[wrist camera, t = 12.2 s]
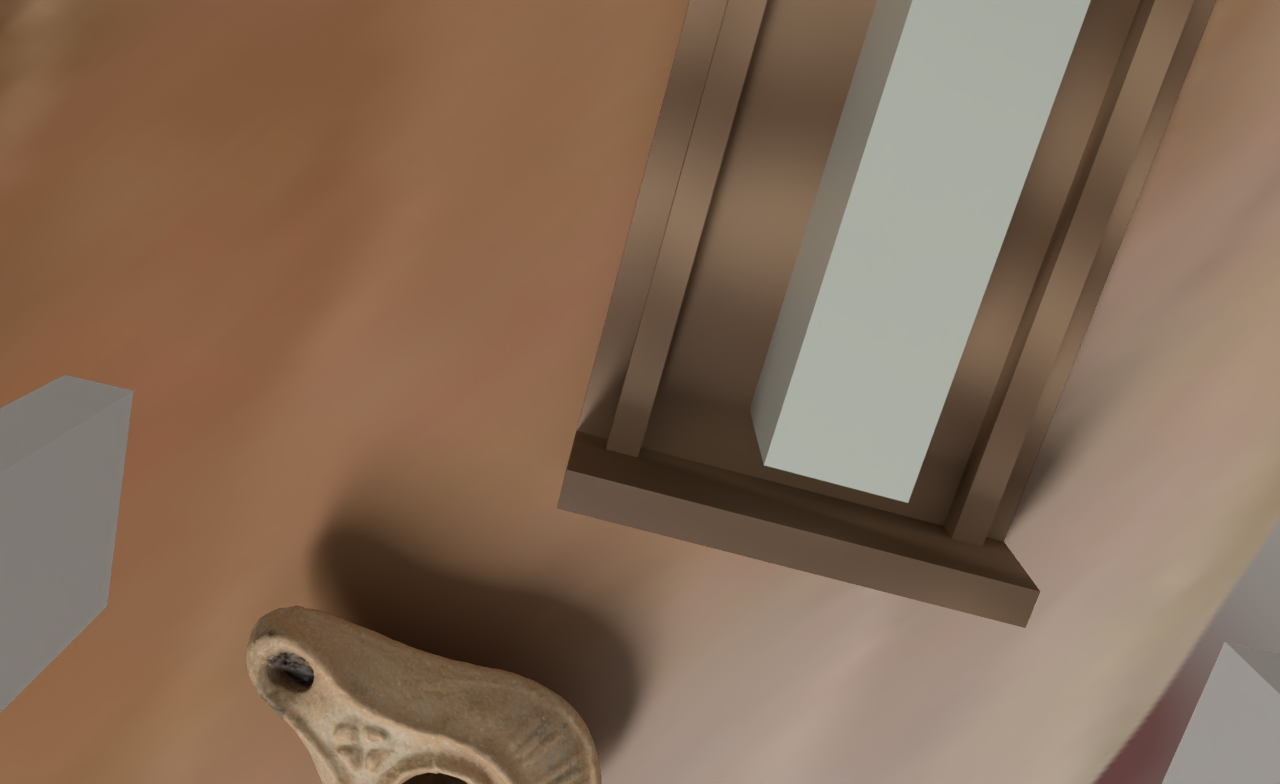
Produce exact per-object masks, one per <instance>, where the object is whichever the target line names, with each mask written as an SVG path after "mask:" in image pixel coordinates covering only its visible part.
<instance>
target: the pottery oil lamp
mask: <svg viewBox="0 0 1280 784" xmlns="http://www.w3.org/2000/svg"><path fill="white" fill-rule="evenodd" d="M246 663H247V668H248V674H249V676H250V678H251V681H252V684H253V686H254V688H255V689H256V691H257V692H258V693H259V694H260V695H261V697H262V698H263V699H264V700H265V701H266V702H267V703H268V704H269V705H270V707H271V708H272V709H273V710H274V711H275V712H276V713H277V714H278V715H279V716H280V717H281V718H282V719H284V720H285V721H286V722H287V723H288V724H289V725H290V726H291V727H292V728H293V729H294V731H295V732H296V733H297V735H298V736H299V738H300V739H301V740H302V742H303V743H304V745H305V746H306V747H307V749H308V751H309V753H310V755H311V757H312V759H313V761H314V763H315V767H316V769H317V771H318V774H319V776H320V778H321V780H322V783H323V784H601V771H600V763H599V757H598V753H597V750H596V747H595V744H594V741H593V738H592V737H591V734H590V732H589V729H588V727H587V726H586V724H585V722H584V720H583V719H582V717H581V716H580V715H579V714H578V712H577V711H576V710H575V709H574V708H573V707H572V706H571V705H570V704H569V703H568V702H567V701H566V700H564V699H563V698H562V697H561V696H560V695H558V694H557V693H555V692H553V691H551V690H550V689H548V688H546V687H545V686H543V685H541V684H539V683H538V682H536V681H534V680H531V679H529V678H526V677H523V676H521V675H518V674H516V673H513V672H509V671H505V670H501V669H497V668H490V667H483V666H479V665H474V664H470V663H467V662H462V661H456V660H452V659H448V658H445V657H441V656H439V655H435V654H432V653H428V652H425V651H421V650H419V649H416V648H413V647H410V646H408V645H406V644H404V643H401V642H399V641H395V640H392V639H391V638H389V637H386V636H384V635H382V634H380V633H377V632H375V631H373V630H370V629H367V628H365V627H362V626H359V625H356V624H353V623H351V622H349V621H346V620H344V619H342V618H339V617H337V616H334V615H332V614H329V613H326V612H322V611H319V610H315V609H305V608H303V607H301V606H294V607H289V608H280V609H277V610H274V611H272V612H270V613H268V614H266V615H264V616H263V617H261V618H260V619H259V620H258V622H257V623H256V624H255V625H254V627H253V629H252V632H251V635H250V638H249V642H248V645H247V651H246Z"/></svg>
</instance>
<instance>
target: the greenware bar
mask: <svg viewBox="0 0 1280 784" xmlns="http://www.w3.org/2000/svg"><path fill="white" fill-rule="evenodd" d="M1090 1H1091V0H877V1H876V5H875V8H874V11H873V14H872V18H871V21H870V24H869V27H868V30H867V34H866V37H865V40H864V43H863V46H862V50H861V53H860V56H859V59H858V63H857V66H856V69H855V72H854V75H853V79H852V82H851V85H850V88H849V92H848V95H847V98H846V101H845V104H844V108H843V111H842V114H841V117H840V120H839V124H838V127H837V130H836V133H835V137H834V140H833V143H832V146H831V149H830V153H829V156H828V159H827V162H826V166H825V169H824V172H823V175H822V178H821V182H820V185H819V188H818V191H817V194H816V198H815V201H814V204H813V207H812V211H811V214H810V217H809V220H808V223H807V227H806V230H805V233H804V236H803V239H802V243H801V246H800V249H799V252H798V256H797V259H796V262H795V265H794V268H793V272H792V275H791V278H790V281H789V285H788V288H787V291H786V294H785V297H784V301H783V304H782V307H781V310H780V313H779V317H778V320H777V323H776V326H775V330H774V333H773V336H772V339H771V342H770V346H769V349H768V352H767V355H766V359H765V362H764V365H763V368H762V371H761V375H760V378H759V381H758V384H757V387H756V391H755V394H754V397H753V400H752V404H751V407H750V413H751V417H752V421H753V425H754V429H755V433H756V437H757V441H758V445H759V448H760V452H761V456H762V460H763V464H764V465H765V466H769V467H773V468H776V469H780V470H784V471H788V472H792V473H795V474H799V475H803V476H807V477H811V478H815V479H818V480H822V481H826V482H830V483H834V484H837V485H841V486H845V487H849V488H853V489H857V490H860V491H864V492H868V493H872V494H876V495H879V496H883V497H887V498H891V499H895V500H899V501H902V502H906V503H908V502H909V499H910V496H911V494H912V491H913V488H914V485H915V483H916V480H917V477H918V474H919V472H920V469H921V466H922V463H923V461H924V458H925V455H926V452H927V450H928V447H929V444H930V441H931V439H932V436H933V433H934V430H935V428H936V425H937V422H938V419H939V417H940V414H941V411H942V408H943V406H944V403H945V400H946V397H947V395H948V392H949V389H950V386H951V384H952V381H953V378H954V375H955V373H956V370H957V367H958V364H959V362H960V359H961V356H962V353H963V351H964V348H965V345H966V342H967V340H968V337H969V334H970V331H971V329H972V326H973V323H974V320H975V318H976V315H977V312H978V309H979V307H980V304H981V301H982V298H983V296H984V293H985V290H986V287H987V285H988V282H989V279H990V276H991V274H992V271H993V268H994V265H995V263H996V260H997V257H998V254H999V252H1000V249H1001V246H1002V243H1003V241H1004V238H1005V235H1006V232H1007V230H1008V227H1009V224H1010V221H1011V219H1012V216H1013V213H1014V210H1015V208H1016V205H1017V202H1018V199H1019V197H1020V194H1021V191H1022V188H1023V186H1024V183H1025V180H1026V177H1027V175H1028V172H1029V169H1030V166H1031V164H1032V161H1033V158H1034V155H1035V153H1036V150H1037V147H1038V144H1039V142H1040V139H1041V136H1042V133H1043V131H1044V128H1045V125H1046V122H1047V120H1048V117H1049V114H1050V111H1051V109H1052V106H1053V103H1054V100H1055V98H1056V95H1057V92H1058V89H1059V87H1060V84H1061V81H1062V78H1063V76H1064V73H1065V70H1066V67H1067V65H1068V62H1069V59H1070V56H1071V54H1072V51H1073V48H1074V45H1075V43H1076V40H1077V37H1078V34H1079V32H1080V29H1081V26H1082V23H1083V21H1084V18H1085V15H1086V12H1087V10H1088V7H1089V4H1090Z"/></svg>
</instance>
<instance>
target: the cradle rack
mask: <svg viewBox="0 0 1280 784" xmlns="http://www.w3.org/2000/svg"><path fill="white" fill-rule="evenodd" d="M876 1H877V0H690V2H689V6H688V10H687V13H686V17H685V21H684V25H683V29H682V32H681V36H680V40H679V44H678V48H677V51H676V55H675V59H674V63H673V67H672V70H671V74H670V78H669V82H668V86H667V89H666V93H665V97H664V101H663V105H662V108H661V112H660V116H659V120H658V124H657V127H656V131H655V135H654V139H653V143H652V146H651V150H650V154H649V158H648V162H647V165H646V169H645V173H644V177H643V181H642V184H641V188H640V192H639V196H638V200H637V203H636V207H635V211H634V215H633V219H632V222H631V226H630V230H629V234H628V238H627V241H626V245H625V249H624V253H623V257H622V260H621V264H620V268H619V272H618V275H617V279H616V283H615V287H614V291H613V294H612V298H611V302H610V306H609V310H608V313H607V317H606V321H605V325H604V329H603V332H602V336H601V340H600V344H599V348H598V351H597V355H596V359H595V363H594V367H593V370H592V374H591V378H590V382H589V386H588V389H587V393H586V397H585V401H584V405H583V408H582V412H581V416H580V420H579V424H578V427H577V431H576V435H575V439H574V443H573V446H572V450H571V454H570V458H569V462H568V465H567V469H566V473H565V477H564V481H563V485H562V490H561V494H560V498H559V502H558V506H557V508H558V509H562V510H566V511H570V512H574V513H578V514H582V515H586V516H590V517H594V518H598V519H602V520H605V521H609V522H613V523H617V524H621V525H625V526H629V527H633V528H637V529H641V530H645V531H648V532H652V533H656V534H660V535H664V536H668V537H672V538H676V539H680V540H684V541H688V542H692V543H695V544H699V545H703V546H707V547H711V548H715V549H719V550H723V551H727V552H731V553H735V554H739V555H742V556H746V557H750V558H754V559H758V560H762V561H766V562H770V563H774V564H778V565H782V566H785V567H789V568H793V569H797V570H801V571H805V572H809V573H813V574H817V575H821V576H825V577H829V578H832V579H836V580H840V581H844V582H848V583H852V584H856V585H860V586H864V587H868V588H872V589H875V590H879V591H883V592H887V593H891V594H895V595H899V596H903V597H907V598H911V599H915V600H919V601H922V602H926V603H930V604H934V605H938V606H942V607H946V608H950V609H954V610H958V611H962V612H966V613H969V614H973V615H977V616H981V617H985V618H989V619H993V620H997V621H1001V622H1005V623H1009V624H1012V625H1016V626H1020V627H1024V628H1025V627H1026V625H1027V623H1028V620H1029V618H1030V615H1031V613H1032V610H1033V608H1034V605H1035V603H1036V601H1037V598H1038V596H1039V593H1040V591H1039V589H1038V588H1037V586H1036V585H1035V584H1034V582H1033V581H1032V580H1031V578H1030V577H1029V576H1028V574H1027V573H1026V571H1025V570H1024V569H1023V567H1022V566H1021V565H1020V563H1019V562H1018V561H1017V559H1016V558H1015V556H1014V555H1013V554H1012V552H1011V551H1010V550H1009V548H1008V547H1007V545H1006V544H1005V543H1004V539H1005V537H1006V534H1007V532H1008V529H1009V526H1010V524H1011V521H1012V519H1013V516H1014V514H1015V511H1016V509H1017V506H1018V504H1019V501H1020V498H1021V496H1022V493H1023V491H1024V488H1025V486H1026V483H1027V481H1028V478H1029V475H1030V473H1031V470H1032V468H1033V465H1034V463H1035V460H1036V458H1037V455H1038V453H1039V450H1040V447H1041V445H1042V442H1043V440H1044V437H1045V435H1046V432H1047V430H1048V427H1049V425H1050V422H1051V419H1052V417H1053V414H1054V412H1055V409H1056V407H1057V404H1058V402H1059V399H1060V397H1061V394H1062V391H1063V389H1064V386H1065V384H1066V381H1067V379H1068V376H1069V374H1070V371H1071V369H1072V366H1073V363H1074V361H1075V358H1076V356H1077V353H1078V351H1079V348H1080V346H1081V343H1082V341H1083V338H1084V335H1085V333H1086V330H1087V328H1088V325H1089V323H1090V320H1091V318H1092V315H1093V313H1094V310H1095V307H1096V305H1097V302H1098V300H1099V297H1100V295H1101V292H1102V290H1103V287H1104V285H1105V282H1106V279H1107V277H1108V274H1109V272H1110V269H1111V267H1112V264H1113V262H1114V259H1115V256H1116V254H1117V251H1118V249H1119V246H1120V244H1121V241H1122V239H1123V236H1124V234H1125V231H1126V228H1127V226H1128V223H1129V221H1130V218H1131V216H1132V213H1133V211H1134V208H1135V206H1136V203H1137V200H1138V198H1139V195H1140V193H1141V190H1142V188H1143V185H1144V183H1145V180H1146V178H1147V175H1148V172H1149V170H1150V167H1151V165H1152V162H1153V160H1154V157H1155V155H1156V152H1157V150H1158V147H1159V144H1160V142H1161V139H1162V137H1163V134H1164V132H1165V129H1166V127H1167V124H1168V122H1169V119H1170V116H1171V114H1172V111H1173V109H1174V106H1175V104H1176V101H1177V99H1178V96H1179V94H1180V91H1181V88H1182V86H1183V83H1184V81H1185V78H1186V76H1187V73H1188V71H1189V68H1190V66H1191V63H1192V60H1193V58H1194V55H1195V53H1196V50H1197V48H1198V45H1199V43H1200V40H1201V37H1202V35H1203V32H1204V30H1205V27H1206V25H1207V22H1208V20H1209V17H1210V15H1211V12H1212V9H1213V7H1214V4H1215V2H1216V0H1091V1H1090V4H1089V7H1088V10H1087V12H1086V15H1085V18H1084V21H1083V23H1082V26H1081V29H1080V32H1079V34H1078V37H1077V40H1076V43H1075V45H1074V48H1073V51H1072V54H1071V56H1070V59H1069V62H1068V65H1067V67H1066V70H1065V73H1064V76H1063V78H1062V81H1061V84H1060V87H1059V89H1058V92H1057V95H1056V98H1055V100H1054V103H1053V106H1052V109H1051V111H1050V114H1049V117H1048V120H1047V122H1046V125H1045V128H1044V131H1043V133H1042V136H1041V139H1040V142H1039V144H1038V147H1037V150H1036V153H1035V155H1034V158H1033V161H1032V164H1031V166H1030V169H1029V172H1028V175H1027V177H1026V180H1025V183H1024V186H1023V188H1022V191H1021V194H1020V197H1019V199H1018V202H1017V205H1016V208H1015V210H1014V213H1013V216H1012V219H1011V221H1010V224H1009V227H1008V230H1007V232H1006V235H1005V238H1004V241H1003V243H1002V246H1001V249H1000V252H999V254H998V257H997V260H996V263H995V265H994V268H993V271H992V274H991V276H990V279H989V282H988V285H987V287H986V290H985V293H984V296H983V298H982V301H981V304H980V307H979V309H978V312H977V315H976V318H975V320H974V323H973V326H972V329H971V331H970V334H969V337H968V340H967V342H966V345H965V348H964V351H963V353H962V356H961V359H960V362H959V364H958V367H957V370H956V373H955V375H954V378H953V381H952V384H951V386H950V389H949V392H948V395H947V397H946V400H945V403H944V406H943V408H942V411H941V414H940V417H939V419H938V422H937V425H936V428H935V430H934V433H933V436H932V439H931V441H930V444H929V447H928V450H927V452H926V455H925V458H924V461H923V463H922V466H921V469H920V472H919V474H918V477H917V480H916V483H915V485H914V488H913V491H912V494H911V496H910V499H909V502H908V503H906V502H902V501H899V500H895V499H891V498H887V497H883V496H879V495H876V494H872V493H868V492H864V491H860V490H857V489H853V488H849V487H845V486H841V485H837V484H834V483H830V482H826V481H822V480H818V479H815V478H811V477H807V476H803V475H799V474H795V473H792V472H788V471H784V470H780V469H776V468H773V467H769V466H765V465H764V464H763V460H762V456H761V452H760V448H759V445H758V441H757V437H756V433H755V429H754V425H753V421H752V417H751V413H750V407H751V404H752V400H753V397H754V394H755V391H756V387H757V384H758V381H759V378H760V375H761V371H762V368H763V365H764V362H765V359H766V355H767V352H768V349H769V346H770V342H771V339H772V336H773V333H774V330H775V326H776V323H777V320H778V317H779V313H780V310H781V307H782V304H783V301H784V297H785V294H786V291H787V288H788V285H789V281H790V278H791V275H792V272H793V268H794V265H795V262H796V259H797V256H798V252H799V249H800V246H801V243H802V239H803V236H804V233H805V230H806V227H807V223H808V220H809V217H810V214H811V211H812V207H813V204H814V201H815V198H816V194H817V191H818V188H819V185H820V182H821V178H822V175H823V172H824V169H825V166H826V162H827V159H828V156H829V153H830V149H831V146H832V143H833V140H834V137H835V133H836V130H837V127H838V124H839V120H840V117H841V114H842V111H843V108H844V104H845V101H846V98H847V95H848V92H849V88H850V85H851V82H852V79H853V75H854V72H855V69H856V66H857V63H858V59H859V56H860V53H861V50H862V46H863V43H864V40H865V37H866V34H867V30H868V27H869V24H870V21H871V18H872V14H873V11H874V8H875V5H876Z"/></svg>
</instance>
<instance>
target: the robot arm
mask: <svg viewBox="0 0 1280 784" xmlns="http://www.w3.org/2000/svg"><path fill="white" fill-rule="evenodd" d="M132 397H133V391H132V390H128V389H124V388H119V387H115V386H110V385H106V384H102V383H97V382H93V381H89V380H84V379H80V378H76V377H71V376H67V375H64V376H62V377H60V378H58V379H56V380H54V381H52V382H50V383H48V384H46V385H44V386H42V387H40V388H38V389H37V390H35V391H33V392H31V393H29V394H27V395H25V396H23V397H21V398H19V399H17V400H15V401H13V402H12V403H10V404H8V405H6V406H4V407H2V408H0V713H1V712H2V711H3V710H4V709H5V708H6V707H7V706H8V705H9V704H10V703H11V702H12V701H13V700H14V699H15V698H16V697H17V696H18V695H19V694H20V693H21V692H22V691H23V690H24V689H25V688H26V687H27V686H28V685H29V684H30V683H31V682H32V681H33V680H34V679H35V678H36V677H37V676H38V675H39V674H40V673H41V672H42V671H43V670H44V669H45V668H46V667H47V666H48V665H49V664H50V663H51V662H52V661H53V660H54V659H55V658H56V657H57V656H58V655H59V654H60V653H61V652H62V651H63V650H64V649H65V648H66V647H67V646H68V645H69V644H70V643H71V642H72V641H73V640H74V639H75V638H76V637H77V636H78V635H79V634H80V633H81V632H82V631H83V630H84V629H85V628H86V627H87V626H88V625H89V624H90V623H91V622H92V621H93V620H94V619H95V618H96V617H97V616H98V615H99V614H100V613H101V612H102V611H103V610H104V609H105V608H106V607H107V602H108V594H109V585H110V577H111V569H112V561H113V553H114V545H115V536H116V528H117V520H118V512H119V504H120V495H121V487H122V479H123V471H124V463H125V454H126V446H127V438H128V430H129V422H130V413H131V405H132ZM1162 784H1280V654H1277V653H1272V652H1268V651H1264V650H1259V649H1255V648H1251V647H1246V646H1242V645H1238V644H1233V643H1229V642H1225V643H1224V645H1223V647H1222V650H1221V652H1220V654H1219V656H1218V659H1217V661H1216V663H1215V666H1214V668H1213V670H1212V672H1211V674H1210V677H1209V679H1208V681H1207V684H1206V686H1205V688H1204V690H1203V693H1202V695H1201V697H1200V699H1199V701H1198V704H1197V706H1196V708H1195V711H1194V713H1193V715H1192V717H1191V720H1190V722H1189V724H1188V726H1187V728H1186V731H1185V733H1184V735H1183V737H1182V740H1181V742H1180V744H1179V746H1178V749H1177V751H1176V753H1175V755H1174V758H1173V760H1172V762H1171V765H1170V767H1169V769H1168V771H1167V774H1166V776H1165V778H1164V780H1163V783H1162Z"/></svg>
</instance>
